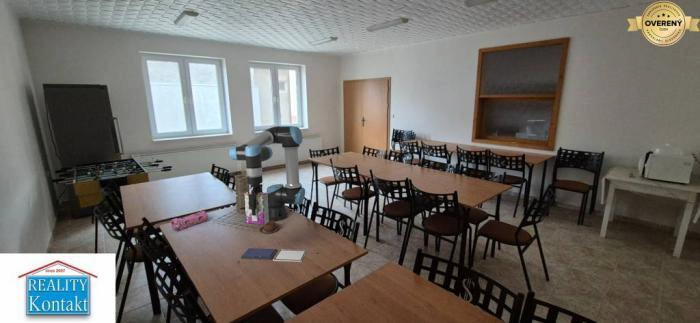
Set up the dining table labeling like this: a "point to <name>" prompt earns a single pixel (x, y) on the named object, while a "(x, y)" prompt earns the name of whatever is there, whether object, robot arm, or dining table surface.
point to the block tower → (241, 192)
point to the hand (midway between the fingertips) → (257, 218)
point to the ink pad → (259, 253)
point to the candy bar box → (258, 209)
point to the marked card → (290, 255)
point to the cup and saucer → (269, 227)
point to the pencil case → (189, 221)
